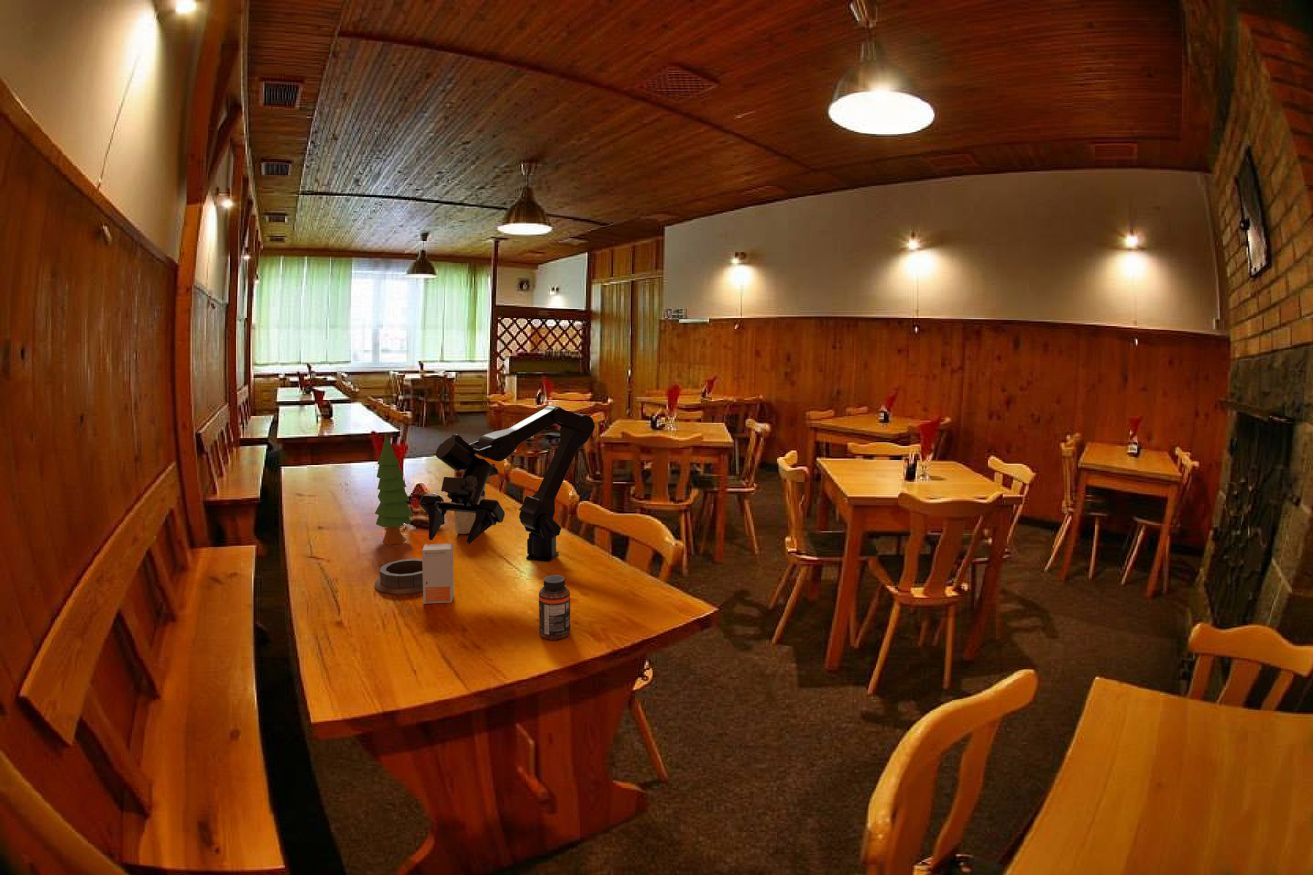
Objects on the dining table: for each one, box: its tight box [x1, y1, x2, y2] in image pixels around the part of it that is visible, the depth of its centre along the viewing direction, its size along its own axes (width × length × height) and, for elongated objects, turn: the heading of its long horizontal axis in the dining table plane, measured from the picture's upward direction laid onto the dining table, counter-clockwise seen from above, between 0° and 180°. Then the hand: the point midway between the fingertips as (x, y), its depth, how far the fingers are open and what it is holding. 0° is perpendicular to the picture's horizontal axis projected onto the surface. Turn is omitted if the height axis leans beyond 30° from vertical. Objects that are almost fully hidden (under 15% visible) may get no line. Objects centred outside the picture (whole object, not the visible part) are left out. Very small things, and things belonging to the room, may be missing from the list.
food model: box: [453, 470, 486, 535], centre depth 197 cm, size 10×7×20 cm
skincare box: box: [421, 543, 455, 605], centre depth 148 cm, size 6×4×12 cm
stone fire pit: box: [374, 558, 423, 596], centre depth 158 cm, size 14×14×4 cm
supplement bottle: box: [538, 574, 571, 641], centre depth 133 cm, size 6×6×11 cm
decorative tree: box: [374, 432, 413, 546], centre depth 187 cm, size 10×9×30 cm
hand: (449, 541), depth 152 cm, fingers open, 9 cm apart
